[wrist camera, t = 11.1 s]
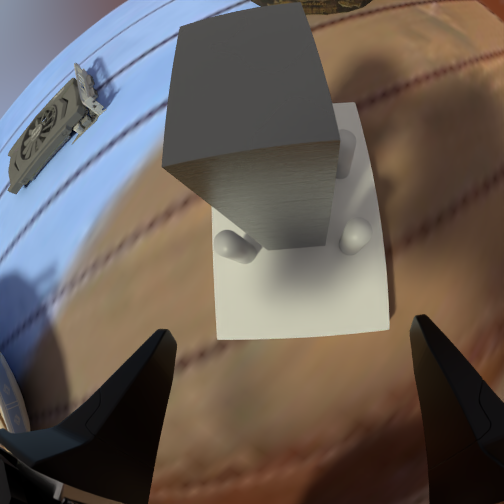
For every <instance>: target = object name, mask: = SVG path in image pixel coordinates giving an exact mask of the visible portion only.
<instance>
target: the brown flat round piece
mask: <svg viewBox="0 0 504 504" xmlns="http://www.w3.org/2000/svg"><path fill="white" fill-rule="evenodd" d="M251 1H252V2H254V3H255V4H257V5H259V6H261V7H263V6H270V5H277V4H285V3H294V2H301V4H302V7H303V10H304V12H305V15H328V14H336V13H344V12H350V11H353V10H356V9H359V8H363V7H364V6H366V5H367V4H368V3H370V2H371V1H372V0H251Z"/></svg>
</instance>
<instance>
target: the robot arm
mask: <svg viewBox="0 0 504 504" xmlns="http://www.w3.org/2000/svg"><path fill="white" fill-rule="evenodd" d="M410 341H411V349H412V358H413V367H414V375H415V380H416V385H417V390H418V396H419V401H420V407H421V413H422V420H423V426H424V434H425V442H426V451H427V461H428V476H429V499H430V504H504V403H503V402H502V400H501V399H500V398H499V397H498V396H497V395H496V394H495V393H494V391H493V390H492V389H491V388H490V387H489V386H488V384H487V383H486V382H485V381H484V380H482V377H481V376H480V375H479V373H478V372H477V371H476V370H475V369H474V367H473V366H472V365H471V364H470V363H469V362H468V360H467V359H466V358H465V357H464V356H463V355H462V353H461V352H460V351H459V350H458V349H457V348H456V347H455V346H454V344H453V343H452V342H451V341H450V340H449V339H448V338H447V337H446V336H445V334H444V333H443V332H442V331H441V330H440V329H439V328H438V327H437V326H436V325H435V324H434V323H433V322H432V320H431V319H430V318H429V317H428V316H427V315H425V314H422V315H416V316H415V317H414V319H413V322H412V325H411V328H410ZM176 351H177V343H176V340H175V339H174V337H173V336H172V334H171V332H170V331H169V330H168V329H158V330H157V331H156V332H155V333H154V334H153V335H152V336H151V337H150V338H149V339H148V340H147V341H146V342H145V343H144V344H143V345H142V346H141V347H140V348H139V349H138V350H137V351H136V352H135V353H134V354H133V355H132V356H131V357H130V358H129V359H128V360H127V361H126V362H125V363H124V364H123V365H122V366H121V367H120V368H119V369H118V370H117V371H116V372H115V373H114V374H113V375H112V376H111V377H110V378H109V379H108V380H107V381H106V382H105V383H104V384H103V385H102V386H101V387H100V388H99V389H98V390H97V391H96V392H95V393H94V394H93V395H92V396H91V397H90V398H89V399H88V400H87V401H86V402H85V403H83V404H82V405H81V406H80V407H79V408H78V409H77V410H75V411H74V412H73V413H72V414H71V415H69V416H68V417H67V418H66V419H65V420H63V421H62V422H61V423H60V424H58V425H56V426H54V427H52V428H48V429H42V430H36V431H30V432H23V433H10V432H9V431H7V430H6V429H4V428H1V429H0V444H1V445H2V446H3V447H5V448H6V449H7V450H8V451H9V452H8V451H6V450H5V449H3V448H2V447H0V504H148V500H149V494H150V488H151V483H152V477H153V472H154V466H155V461H156V456H157V450H158V446H159V441H160V436H161V431H162V426H163V422H164V417H165V412H166V408H167V403H168V399H169V395H170V390H171V386H172V381H173V375H174V366H175V358H176ZM11 453H12V454H11Z"/></svg>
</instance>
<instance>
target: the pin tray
mask: <svg viewBox="0 0 504 504" xmlns="http://www.w3.org/2000/svg"><path fill="white" fill-rule="evenodd" d="M332 105H333V109H334V113H335V117H336V121H337V126H338V130H339V135H340V149H339V158H338V166H337V173H336V181H335V188H334V195H333V202H332V208H331V215H330V221H329V227H328V233H327V239H326V245H325V246H316V247H304V248H293V249H281V250H269V251H268V250H267V249H265V248H264V247H263V246H261V245H260V244H259V243H258V242H256V241H255V240H254V239H253V238H251V237H250V236H249V235H248V234H246V233H245V232H244V231H243V230H241V229H240V228H239V227H238V226H236V225H235V224H234V223H233V222H231V221H230V220H229V219H227V218H226V217H225V216H224V215H222V214H221V213H220V212H219V211H217V210H216V209H215V208H214V207H212V238H213V267H214V290H215V310H216V327H217V340H241V339H281V338H302V337H318V336H332V335H344V334H354V333H364V332H373V331H382V330H389V301H388V285H387V272H386V261H385V251H384V243H383V234H382V227H381V220H380V213H379V207H378V201H377V195H376V189H375V184H374V179H373V173H372V169H371V164H370V159H369V155H368V150H367V146H366V142H365V138H364V134H363V130H362V126H361V122H360V118H359V115H358V111H357V107H356V104H355V102H348V103H332Z"/></svg>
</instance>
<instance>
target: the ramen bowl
mask: <svg viewBox="0 0 504 504" xmlns="http://www.w3.org/2000/svg"><path fill="white" fill-rule="evenodd" d="M1 428H4V429H6V430H7V431H9V432H10V433H23V432H30V422H29V418H28V415H27V411H26V408H25V404H24V400H23V396H22V394H21V391H20V388H19V386H18V384H17V382H16V380H15V377H14V375H13V373H12V371H11V369H10V367H9V365H8V364H7V362H6V360H5V358H4V356H3V355H2V353H1V352H0V429H1ZM0 447H2V448H3V449H5V450H6V451H8V450H7V449H6V448H5V447H3V446H2V445H1V444H0ZM8 452H9V451H8ZM11 454H12V453H11Z"/></svg>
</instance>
